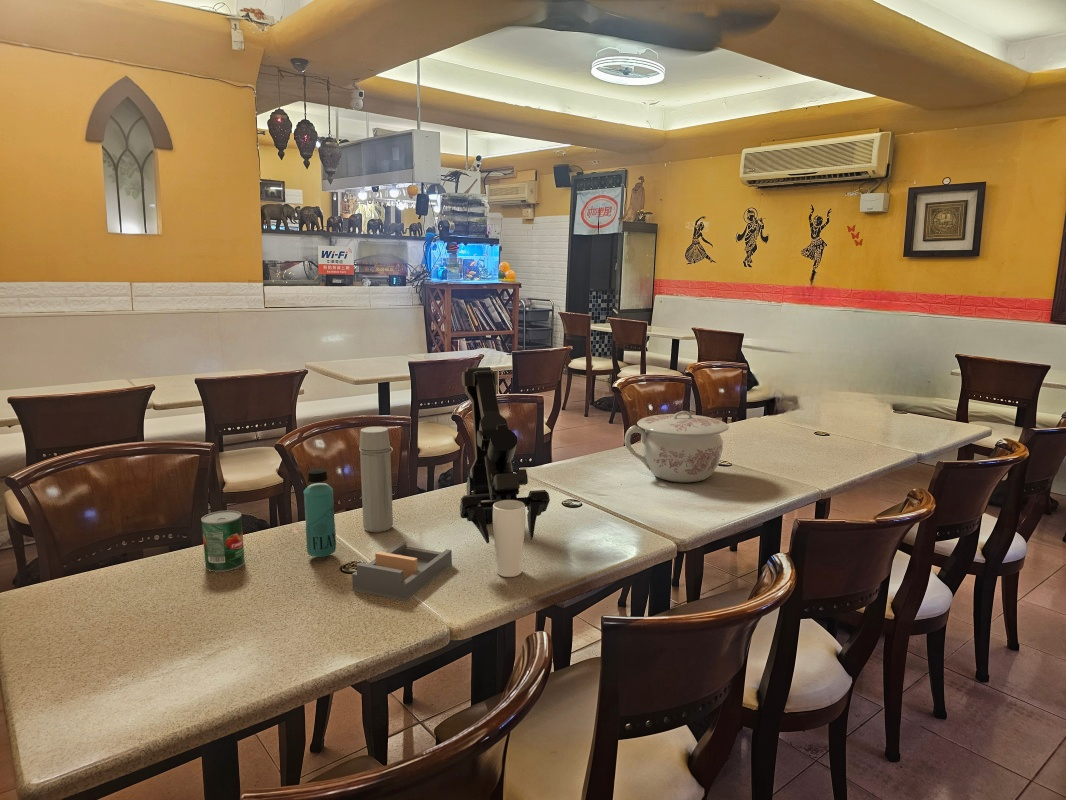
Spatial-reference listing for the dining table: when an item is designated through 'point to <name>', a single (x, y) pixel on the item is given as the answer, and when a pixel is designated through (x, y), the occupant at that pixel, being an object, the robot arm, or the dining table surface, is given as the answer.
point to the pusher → (397, 562)
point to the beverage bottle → (319, 515)
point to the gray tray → (401, 573)
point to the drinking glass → (509, 536)
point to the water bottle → (376, 478)
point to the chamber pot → (679, 445)
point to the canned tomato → (223, 540)
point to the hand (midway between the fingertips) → (510, 540)
